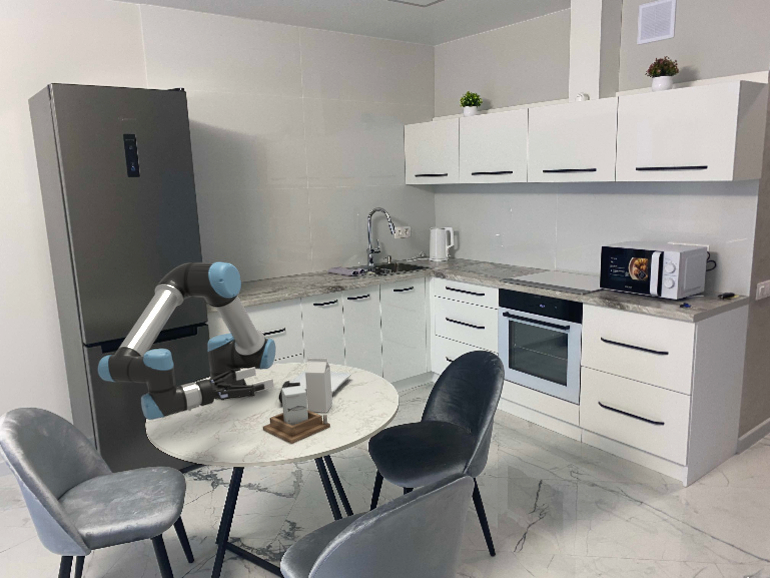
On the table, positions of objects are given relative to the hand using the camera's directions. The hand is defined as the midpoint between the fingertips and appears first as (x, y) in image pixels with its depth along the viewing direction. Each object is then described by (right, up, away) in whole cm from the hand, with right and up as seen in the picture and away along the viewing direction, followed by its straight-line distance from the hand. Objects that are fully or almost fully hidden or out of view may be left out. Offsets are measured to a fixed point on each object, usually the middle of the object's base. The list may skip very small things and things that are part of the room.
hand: (263, 376), depth 185 cm
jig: (+9, -19, +10) cm, 23 cm away
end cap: (+3, -15, +34) cm, 37 cm away
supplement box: (+9, -18, +10) cm, 22 cm away
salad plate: (+12, -12, +48) cm, 51 cm away
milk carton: (+15, -16, +26) cm, 34 cm away
